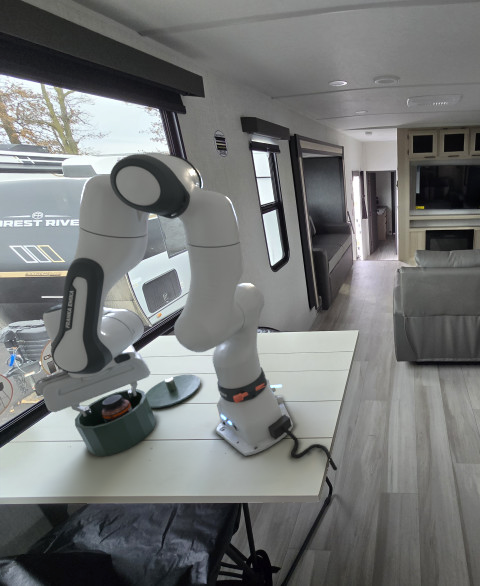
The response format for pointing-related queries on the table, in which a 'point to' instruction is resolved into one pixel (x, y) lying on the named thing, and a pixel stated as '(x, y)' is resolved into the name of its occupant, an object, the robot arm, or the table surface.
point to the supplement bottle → (115, 408)
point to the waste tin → (116, 425)
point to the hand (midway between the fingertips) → (111, 404)
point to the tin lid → (172, 390)
